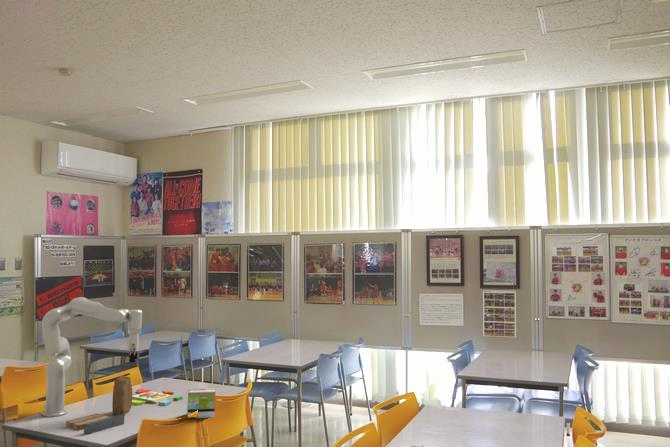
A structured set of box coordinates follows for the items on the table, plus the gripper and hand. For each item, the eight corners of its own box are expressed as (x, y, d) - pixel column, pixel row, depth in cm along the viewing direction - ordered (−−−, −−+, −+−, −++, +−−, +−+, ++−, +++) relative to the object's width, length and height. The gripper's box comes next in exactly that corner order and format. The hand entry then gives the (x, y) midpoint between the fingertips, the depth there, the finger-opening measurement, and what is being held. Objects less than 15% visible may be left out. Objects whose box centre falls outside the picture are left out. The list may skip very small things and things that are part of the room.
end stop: (83, 433, 275) (84, 423, 276) (121, 422, 294) (121, 413, 294) (86, 434, 274) (87, 424, 274) (124, 423, 292) (124, 414, 293)
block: (121, 415, 307) (123, 379, 309) (110, 414, 309) (112, 378, 311) (133, 410, 318) (135, 375, 319) (122, 409, 320) (124, 375, 321)
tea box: (187, 419, 302) (188, 392, 303) (187, 414, 312) (188, 388, 313) (214, 417, 306) (215, 391, 307) (213, 412, 316) (214, 387, 317)
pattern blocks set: (192, 395, 356) (192, 390, 357) (163, 408, 324) (164, 403, 324) (141, 391, 366) (141, 386, 366) (108, 403, 333) (109, 398, 333)
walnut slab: (66, 427, 287) (66, 421, 287) (96, 418, 302) (97, 413, 302) (79, 431, 280) (79, 425, 281) (110, 422, 296) (110, 417, 296)
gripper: (129, 329, 323) (128, 358, 322) (125, 333, 307) (124, 363, 305) (142, 329, 325) (141, 357, 324) (139, 333, 308) (138, 363, 307)
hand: (133, 360), depth 315 cm, fingers open, 9 cm apart
